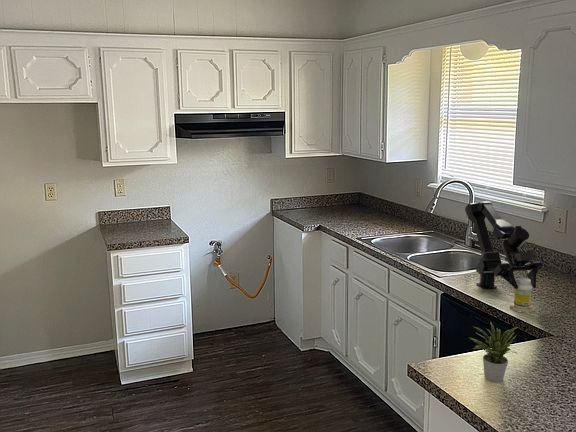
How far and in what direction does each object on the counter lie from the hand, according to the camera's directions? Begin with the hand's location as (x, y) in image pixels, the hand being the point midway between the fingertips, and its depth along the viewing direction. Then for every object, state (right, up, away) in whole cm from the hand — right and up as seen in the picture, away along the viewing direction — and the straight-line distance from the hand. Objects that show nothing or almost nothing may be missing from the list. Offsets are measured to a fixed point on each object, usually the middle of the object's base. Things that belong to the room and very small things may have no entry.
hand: (526, 288), depth 226 cm
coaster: (0, -8, +3) cm, 9 cm away
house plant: (-30, -20, -52) cm, 63 cm away
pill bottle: (0, -8, +3) cm, 8 cm away
